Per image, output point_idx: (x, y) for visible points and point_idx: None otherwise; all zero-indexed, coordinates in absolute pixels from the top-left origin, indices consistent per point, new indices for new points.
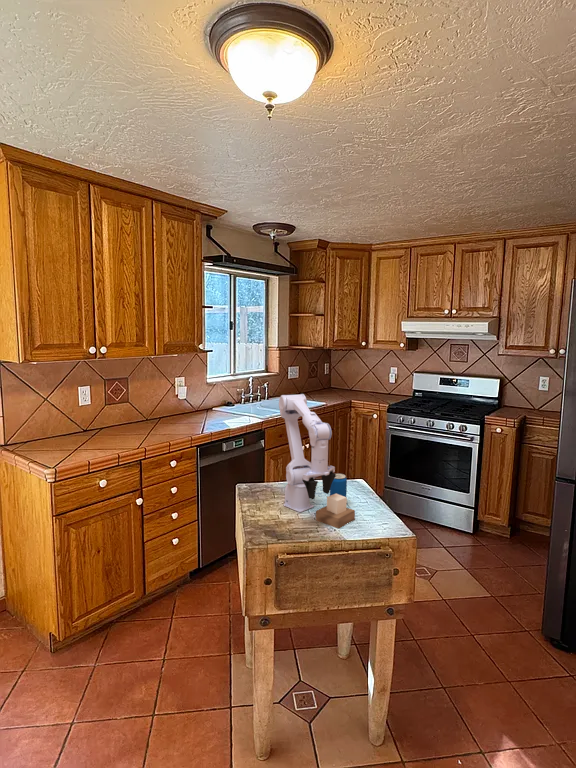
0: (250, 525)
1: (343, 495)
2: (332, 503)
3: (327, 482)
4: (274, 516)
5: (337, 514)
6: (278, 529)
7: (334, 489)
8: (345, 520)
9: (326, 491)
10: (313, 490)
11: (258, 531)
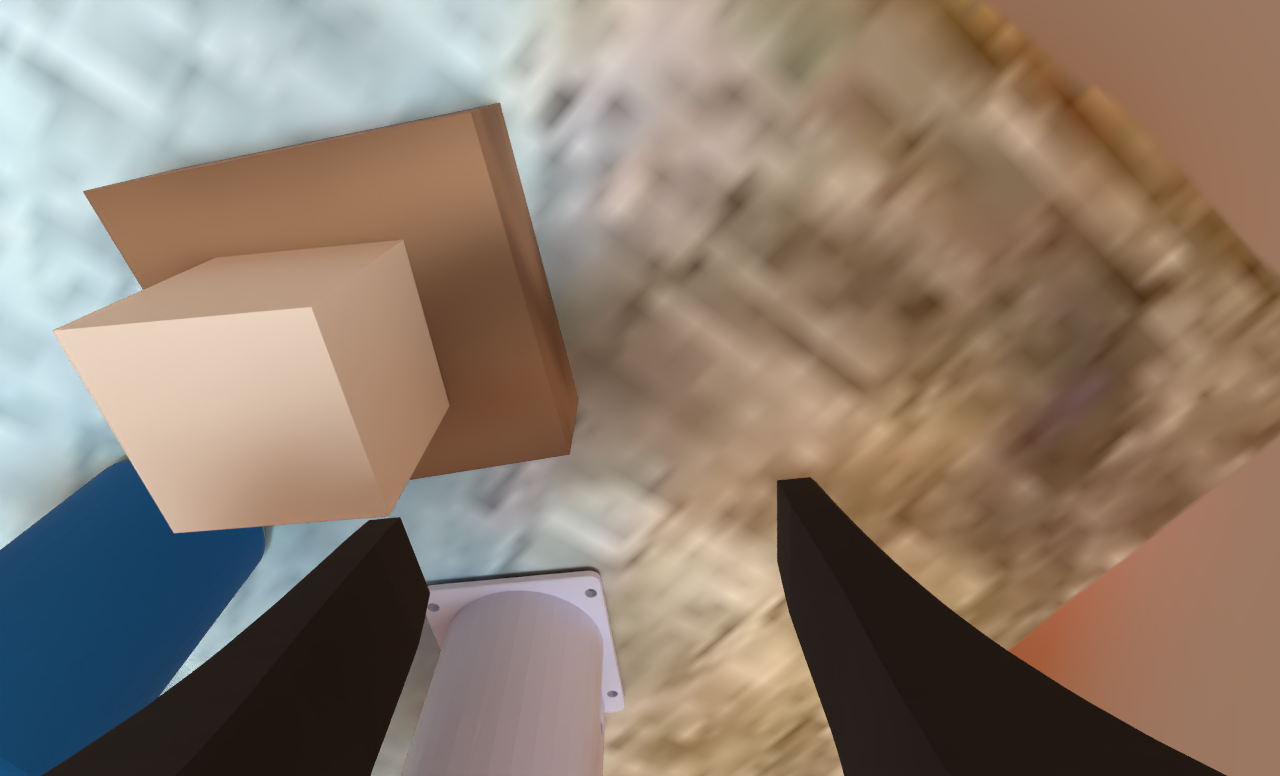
0: (1053, 595)
1: (53, 541)
2: (381, 376)
3: (284, 751)
4: None
5: (400, 235)
6: (973, 443)
7: (116, 654)
8: (339, 137)
9: (395, 568)
10: (938, 604)
11: (1108, 499)
